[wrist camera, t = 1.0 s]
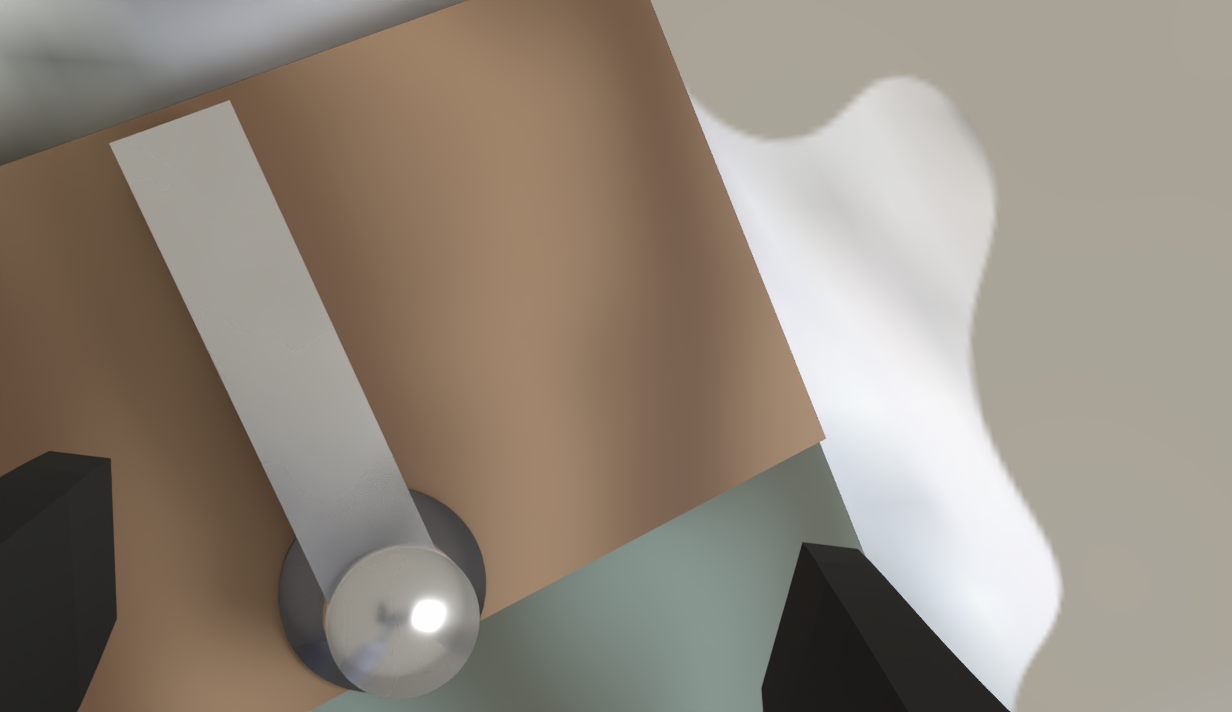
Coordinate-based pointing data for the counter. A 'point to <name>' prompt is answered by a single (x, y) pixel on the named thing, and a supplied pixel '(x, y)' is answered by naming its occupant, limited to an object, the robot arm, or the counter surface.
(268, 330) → the lock bar
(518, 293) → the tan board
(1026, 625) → the counter surface
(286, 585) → the plates
